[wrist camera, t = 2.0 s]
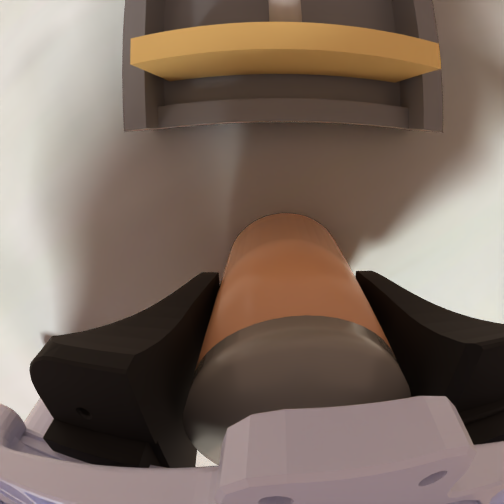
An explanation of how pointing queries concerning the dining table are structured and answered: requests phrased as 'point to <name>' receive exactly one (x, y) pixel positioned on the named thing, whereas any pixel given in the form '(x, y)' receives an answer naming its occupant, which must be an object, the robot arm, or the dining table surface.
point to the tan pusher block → (283, 49)
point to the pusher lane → (280, 85)
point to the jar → (287, 334)
